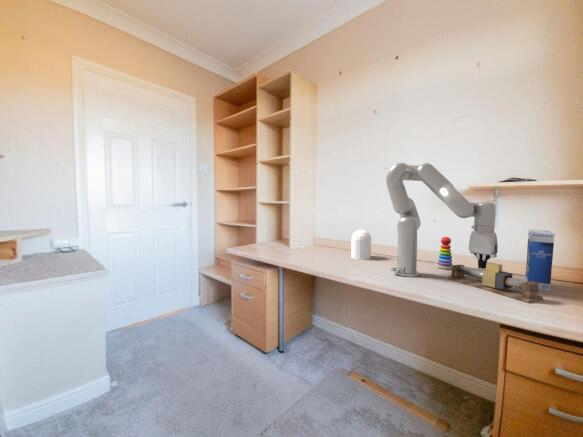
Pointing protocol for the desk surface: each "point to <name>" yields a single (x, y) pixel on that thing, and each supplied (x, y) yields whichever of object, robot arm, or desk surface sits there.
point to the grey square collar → (502, 280)
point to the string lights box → (540, 258)
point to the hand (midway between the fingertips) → (482, 268)
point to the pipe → (479, 274)
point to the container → (361, 245)
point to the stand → (526, 295)
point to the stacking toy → (445, 254)
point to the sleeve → (491, 273)
